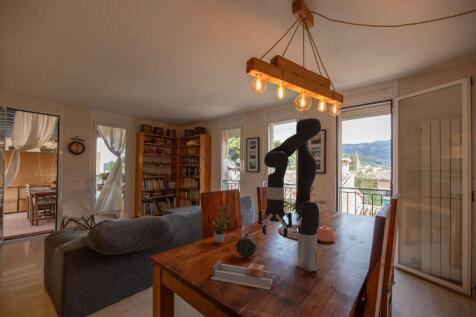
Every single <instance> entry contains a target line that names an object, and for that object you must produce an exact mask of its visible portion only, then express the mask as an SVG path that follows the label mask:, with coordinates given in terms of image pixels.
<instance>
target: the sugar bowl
mask: <svg viewBox="0 0 476 317" xmlns="http://www.w3.org/2000/svg"><path fill="white" fill-rule="evenodd" d="M334 240H336V237H335V234H334V231H333V229H332V228H330V227H329V226H327V225H325V224H324V225H322V226H320V227H318V230H317V241H320V242H321V243H332V242H334Z"/></svg>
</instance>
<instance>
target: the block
mask: <svg viewBox="0 0 476 317" xmlns="http://www.w3.org/2000/svg"><path fill="white" fill-rule="evenodd" d="M247 268H248V276H254V277H259V278H264V271H265V265H264V264H257V263H253V262H252V263H250V264H249V266H248V267H247Z"/></svg>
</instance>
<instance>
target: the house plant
mask: <svg viewBox="0 0 476 317" xmlns="http://www.w3.org/2000/svg"><path fill="white" fill-rule="evenodd" d="M226 219H227V217H226V218H224V219H223V220H222V222H221V221H220V219H219V218H217V221H218V222H217V223H218V224H217V223H216V221H214V220H213V219H211V221H212V225H213V226H212V227H211V229H213V230H215V232H214V234H213V235H214V240H215V241H217V242H222V241H225V234H226V233H225V232H224V231H228V227H225V226H226V225H227V223H228V222H231V221H232V220H231V219H230V220H226ZM215 241H214V242H215Z"/></svg>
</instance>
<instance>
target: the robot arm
mask: <svg viewBox="0 0 476 317" xmlns="http://www.w3.org/2000/svg"><path fill="white" fill-rule="evenodd" d="M295 128H296V129H295V130H296V131H295V132H296V133H294V134H292V135H291V136H288V137H287V138H286V139H285V140H284V141H283V142H281V144H280V145H278V146H276V147H274V148H272V149H271V150H268V152H266V154H265V155H264V158H263V162H264V166H266V167H268V168H271V169H274V171H273V172H272V173H269V174H268V175H267V185H266V186H267V188H266V204H265V206H266V207H265V209H266V210H264V209H260V210H259V211H258V219H257V223H258V225H261V226H262V227H261V228H262V230H261V232H262V234H263V236H266V235H267V224H268V223H269V221H270V222H275V223H280V224H281V225H282V226H283V238H286V237H287V236H288V229H290V228H292V227H293V217H292V214H293V213H292V212H291V211H290V212H285V188H284V187H285V176H286V172H287V168H288V165H289V157H291V156H292V155H294V154H295V152H297V163H296V164H297V169H296V172H297V177H296V180H297V183H296V185H297V188H296V189H297V190H296V197H295V198H296V199H295V208H294V209H295V213H296V215H298V217H300V218H301V220H300V221H301V222H300V225H298V226H297V267H299V268H301V269H304V271H305V272H318V239H317V230H318V228H319V225H320V208H319V206H318V204H317V203H316V202H315V201H311V190H312V189H311V188H312V187H313V184H314V181H315V178H316V176H317V161H316V158H315V156H314V155H313V153H312V151H311V150H310V148H309V145H308V141H309V140H311V139H313V138H314V137H316V136H317V135H318V134H320V132H321V130H322V124H321V121H320V120H319V119H318V118H317V117H307V118H303V119H298V121H297V124H296V127H295ZM264 215H265V216H266V218H265V220H264V221H263V216H264ZM284 217H286V218H287V222H288V223H287V222H286V220H285V219H284Z"/></svg>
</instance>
